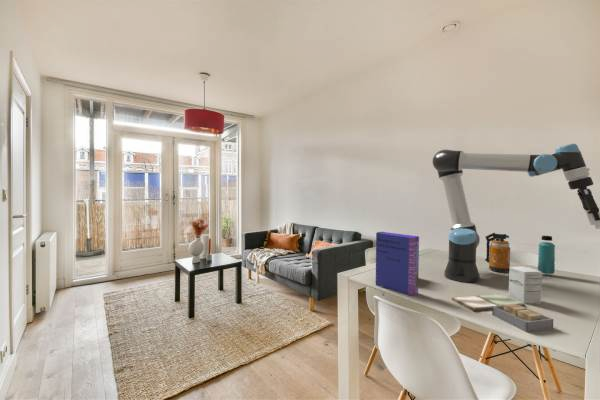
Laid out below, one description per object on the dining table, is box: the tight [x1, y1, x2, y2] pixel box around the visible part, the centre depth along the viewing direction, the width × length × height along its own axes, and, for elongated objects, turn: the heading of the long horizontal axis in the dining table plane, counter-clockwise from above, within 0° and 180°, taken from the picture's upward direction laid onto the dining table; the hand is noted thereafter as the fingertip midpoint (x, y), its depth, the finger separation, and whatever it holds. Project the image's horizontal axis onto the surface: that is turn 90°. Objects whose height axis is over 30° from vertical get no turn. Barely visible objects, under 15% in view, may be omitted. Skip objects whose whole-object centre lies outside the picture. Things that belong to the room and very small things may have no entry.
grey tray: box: [491, 304, 554, 333], centre depth 93 cm, size 12×10×4 cm
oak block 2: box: [518, 309, 541, 321], centre depth 91 cm, size 4×4×4 cm
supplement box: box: [507, 265, 543, 305], centre depth 111 cm, size 7×7×13 cm
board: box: [451, 293, 526, 313], centre depth 108 cm, size 11×22×2 cm, turn 102°
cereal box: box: [375, 231, 420, 297], centre depth 124 cm, size 17×5×24 cm, turn 42°
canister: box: [484, 232, 511, 273], centre depth 153 cm, size 9×11×20 cm
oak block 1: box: [504, 304, 526, 317], centre depth 95 cm, size 4×4×4 cm
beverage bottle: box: [537, 235, 556, 275], centre depth 144 cm, size 6×7×20 cm
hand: (597, 226), depth 122 cm, fingers open, 13 cm apart
